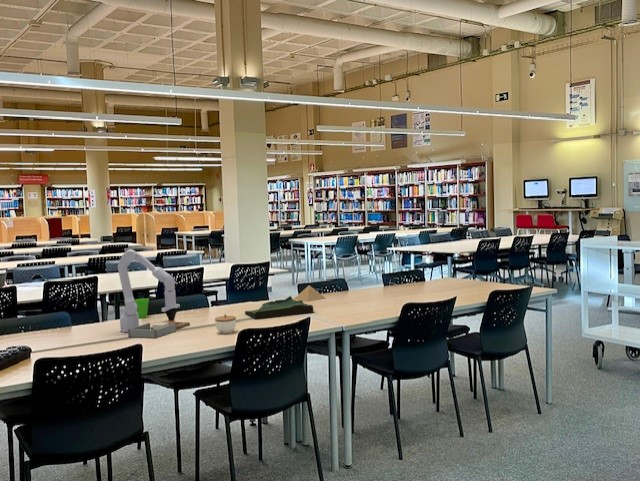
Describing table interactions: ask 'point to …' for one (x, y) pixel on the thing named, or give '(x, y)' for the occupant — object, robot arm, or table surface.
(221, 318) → the lidded jar
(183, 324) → the walnut board
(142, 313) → the cup
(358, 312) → the table surface
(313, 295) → the model pyramid
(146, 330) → the grey box
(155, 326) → the cream tile
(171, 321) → the terracotta tile
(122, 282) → the robot arm
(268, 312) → the topographic model
